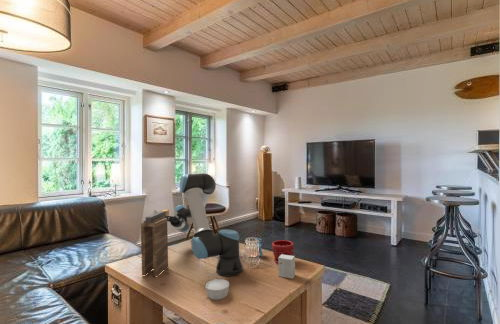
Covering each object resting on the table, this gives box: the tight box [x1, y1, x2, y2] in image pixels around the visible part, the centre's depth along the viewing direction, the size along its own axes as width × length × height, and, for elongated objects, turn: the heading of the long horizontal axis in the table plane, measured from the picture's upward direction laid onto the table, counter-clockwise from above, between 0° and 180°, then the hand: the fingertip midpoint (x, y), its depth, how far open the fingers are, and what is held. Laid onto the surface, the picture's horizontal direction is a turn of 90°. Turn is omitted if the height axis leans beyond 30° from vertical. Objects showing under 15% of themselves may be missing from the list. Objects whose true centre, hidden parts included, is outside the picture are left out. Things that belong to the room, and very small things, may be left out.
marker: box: [145, 209, 170, 223], centre depth 156 cm, size 3×21×3 cm, turn 170°
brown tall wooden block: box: [140, 216, 169, 277], centre depth 152 cm, size 9×13×31 cm
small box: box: [277, 254, 296, 279], centre depth 145 cm, size 8×6×10 cm
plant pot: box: [271, 239, 294, 264], centre depth 164 cm, size 13×13×12 cm
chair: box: [252, 236, 263, 258], centre depth 175 cm, size 8×8×12 cm
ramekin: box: [205, 278, 230, 301], centre depth 126 cm, size 11×11×5 cm
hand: (164, 212), depth 164 cm, fingers open, 13 cm apart
